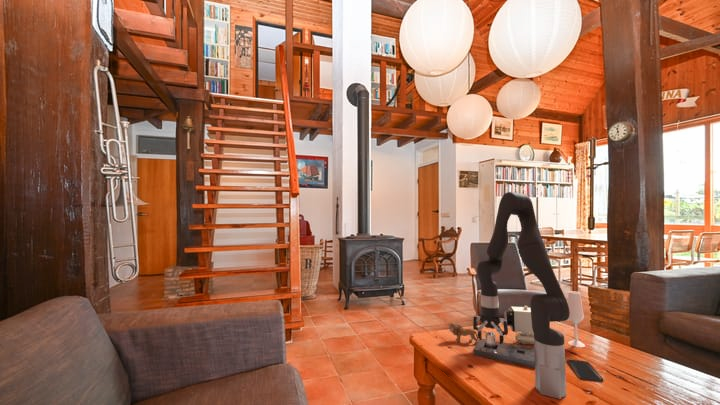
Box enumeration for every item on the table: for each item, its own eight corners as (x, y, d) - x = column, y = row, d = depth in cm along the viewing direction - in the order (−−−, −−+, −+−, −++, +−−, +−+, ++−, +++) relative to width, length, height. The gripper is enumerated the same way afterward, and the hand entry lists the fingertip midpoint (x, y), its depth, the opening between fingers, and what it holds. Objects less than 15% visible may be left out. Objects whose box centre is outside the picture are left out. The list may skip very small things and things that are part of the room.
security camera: (545, 341, 152) (543, 303, 153) (550, 348, 144) (549, 309, 144) (504, 338, 157) (503, 301, 157) (507, 345, 148) (506, 306, 149)
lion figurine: (449, 343, 152) (449, 324, 152) (448, 338, 157) (448, 320, 157) (482, 345, 149) (481, 325, 149) (480, 340, 154) (479, 321, 154)
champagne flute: (567, 340, 153) (565, 290, 154) (583, 342, 150) (582, 291, 150) (568, 345, 147) (566, 293, 148) (586, 348, 144) (584, 294, 144)
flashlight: (494, 354, 139) (494, 335, 139) (485, 352, 141) (484, 334, 141) (496, 350, 142) (495, 332, 143) (486, 349, 145) (486, 331, 145)
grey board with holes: (536, 368, 126) (536, 362, 126) (473, 355, 139) (473, 349, 139) (537, 354, 138) (537, 348, 138) (479, 343, 151) (479, 338, 151)
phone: (587, 361, 130) (604, 380, 116) (587, 364, 130) (604, 383, 116) (565, 359, 132) (579, 377, 118) (565, 361, 132) (579, 380, 118)
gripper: (471, 304, 143) (472, 341, 142) (505, 309, 135) (507, 348, 135) (474, 300, 149) (475, 335, 149) (508, 304, 142) (509, 341, 141)
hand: (490, 341), depth 142 cm, fingers open, 8 cm apart
